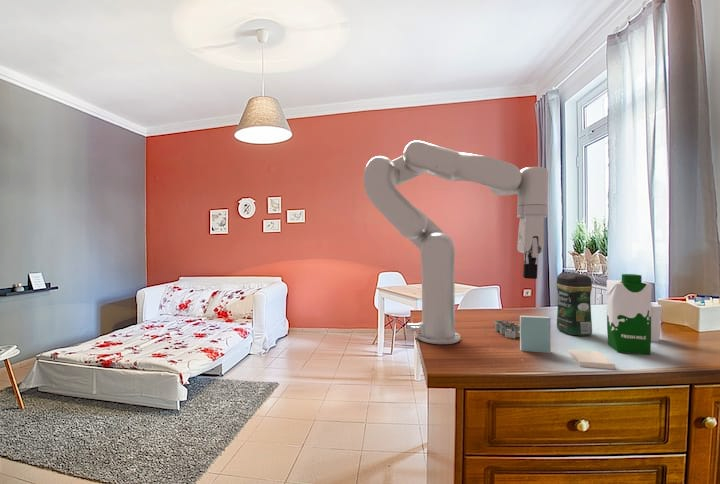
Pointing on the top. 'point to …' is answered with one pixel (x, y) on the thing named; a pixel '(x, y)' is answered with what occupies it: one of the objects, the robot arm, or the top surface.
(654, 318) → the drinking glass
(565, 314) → the coffee jar
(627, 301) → the milk carton
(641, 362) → the top surface
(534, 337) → the teal tile
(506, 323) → the egg carton
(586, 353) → the ochre tile
